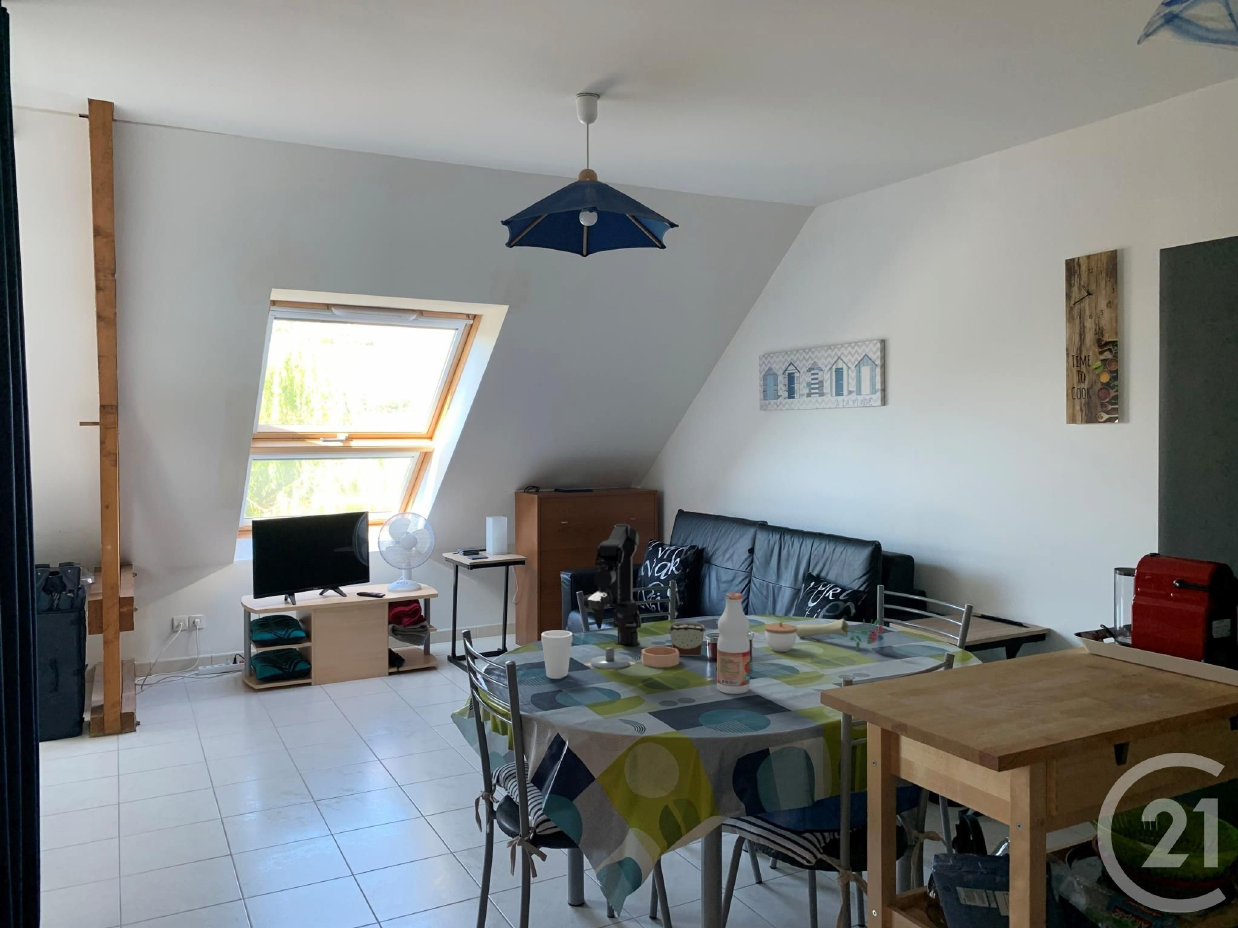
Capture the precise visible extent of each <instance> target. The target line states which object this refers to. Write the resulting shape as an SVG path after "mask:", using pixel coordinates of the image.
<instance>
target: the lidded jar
mask: <svg viewBox="0 0 1238 928" xmlns="http://www.w3.org/2000/svg"><path fill="white" fill-rule="evenodd" d="M796 627H797V626H795V625H793V624H788V623H783V622H782V621H779V623H769V624H766V625H765V626H764V635H765V640H766V643H767V645H768V646H769V648H771V650H772V651H773V652H780V653H781V652H783V653H784V652H789V651H790V650H791V649H792V648H793V646H794V645H795V643H796V639H797V634H796V631H797V628H796Z"/></svg>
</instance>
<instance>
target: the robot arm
mask: <svg viewBox="0 0 1238 928" xmlns="http://www.w3.org/2000/svg"><path fill="white" fill-rule="evenodd" d="M639 543H640V535H639V533H638V531H637V530H635V529H633V528H632V527H631V526H630V525H629V524H627V523H624V524H622V523H617V524H614V525H613V530H612V532H611V534H610V535H609V538H608V539H606V540H603V541H602V542H600V544H599V546H597V551H596V557H595V567H599V569H598V571H596V572H595V574H594V575H593V576H594V577H593V581H594V584H595V585H596V586H597V591H596V592H594V593H593V594H592V595H589V596H585V597H584V599H583V601H582V603H583V604H582V606H583V607H585V609H586V610H589V612H590V613H592V616H593V618H594V622H595V624H596V627H597V629H598V630H600V629H602V625H603V617H604V611H605V607H607V608H613V609H614V610H613V615H612V616H613V627H614V628H617V642H614V644H615V645H619V646H623V647H635V646H637V645H640V644H641V642H640V641H639V640H638V639H639V638H638V635H639V633H638V629H641V628H642V618H641V615H640V612H639V609H638V608H639V606H638V603H637V602H636V601H635V599H634V597H633V596H634V595H633V585H634V584H633V581H634V579H633V575H634V574H633V572H634V571H633V563H634V562H633V559H634V558H633V556H634V555H635V553H636V552H637V550H638V546H639Z"/></svg>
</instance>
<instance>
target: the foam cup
mask: <svg viewBox="0 0 1238 928" xmlns="http://www.w3.org/2000/svg"><path fill="white" fill-rule="evenodd" d="M540 635H541V638H540V639H541V641H540V642H541V643H542V651H543V658H544V659H543V660H544V665H545V673H546V677H547V678H549V679H554V680H555V679H556V680H558V679H559V680H560V679H563V678H564V677H566V676H568V674H569V667H570V659H571V651H572V642H573V641H574V640H573V632H571V631H567V630H563V629H562V630H560V629H559V630H553V629H552V630H547V631H546V630H545V631H543V632H542V633H541V634H540Z"/></svg>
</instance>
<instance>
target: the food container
mask: <svg viewBox="0 0 1238 928" xmlns="http://www.w3.org/2000/svg"><path fill="white" fill-rule="evenodd" d="M668 632H670V639H671V648H676V649H677V650H678V651H679V656H682V657H683V656H686V657H687V656H691V657H702V653H703V652H702V651H703V643H704V642H703V641H704V635H705V633H706V632H707V631H706V628H705V625H704V624H702V623H698V622H691V621H690V622H689V621H688V622H687V621H683V622H682V621H681V622H674V623H671V624H670V625H669V627H668Z"/></svg>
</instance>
